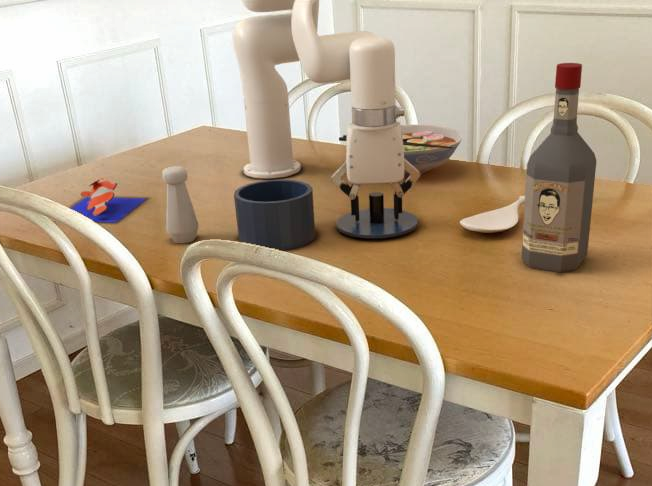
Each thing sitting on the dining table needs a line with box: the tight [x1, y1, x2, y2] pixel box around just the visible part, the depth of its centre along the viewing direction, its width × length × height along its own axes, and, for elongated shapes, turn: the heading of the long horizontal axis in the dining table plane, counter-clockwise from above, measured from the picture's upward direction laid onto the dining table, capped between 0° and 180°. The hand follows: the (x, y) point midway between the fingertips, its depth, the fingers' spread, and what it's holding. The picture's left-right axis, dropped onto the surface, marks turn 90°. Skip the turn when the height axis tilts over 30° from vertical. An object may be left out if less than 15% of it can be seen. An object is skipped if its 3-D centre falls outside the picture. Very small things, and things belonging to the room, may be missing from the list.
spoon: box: [459, 195, 525, 234], centre depth 161 cm, size 9×32×4 cm, turn 135°
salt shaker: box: [161, 165, 199, 244], centre depth 155 cm, size 6×6×13 cm
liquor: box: [521, 62, 598, 273], centre depth 134 cm, size 9×9×30 cm
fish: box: [80, 177, 118, 217], centre depth 174 cm, size 13×5×9 cm
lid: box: [335, 191, 419, 239], centre depth 158 cm, size 15×15×6 cm
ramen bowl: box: [338, 124, 464, 177], centre depth 187 cm, size 25×23×8 cm
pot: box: [233, 179, 316, 251], centre depth 155 cm, size 14×14×8 cm
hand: (376, 217), depth 159 cm, fingers open, 6 cm apart
